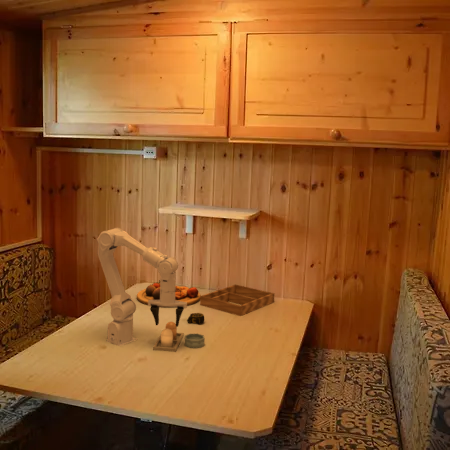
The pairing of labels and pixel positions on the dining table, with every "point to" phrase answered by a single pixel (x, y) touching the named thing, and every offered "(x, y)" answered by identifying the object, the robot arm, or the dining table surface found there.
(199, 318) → the tape measure
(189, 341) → the octagonal bowl
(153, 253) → the robot arm
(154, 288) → the wooden plate with food
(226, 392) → the dining table surface
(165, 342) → the tan rounded cylinder
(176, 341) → the divided tray
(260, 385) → the dining table surface
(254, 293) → the wooden compartment tray
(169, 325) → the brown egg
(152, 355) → the dining table surface
